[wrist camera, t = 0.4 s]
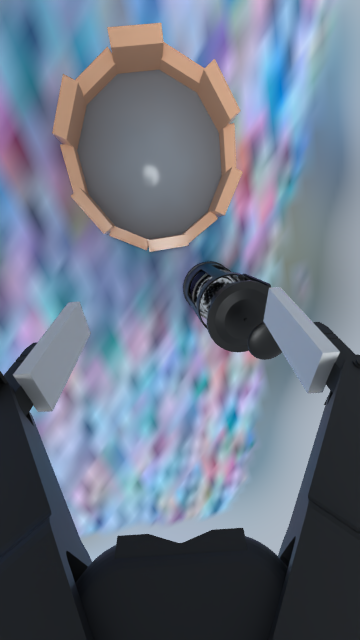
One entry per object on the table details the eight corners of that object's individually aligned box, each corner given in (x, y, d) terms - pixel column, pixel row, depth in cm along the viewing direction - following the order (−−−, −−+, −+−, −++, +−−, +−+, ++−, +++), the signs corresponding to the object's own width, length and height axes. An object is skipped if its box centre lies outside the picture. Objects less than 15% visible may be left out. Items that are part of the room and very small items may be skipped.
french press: (188, 318, 44) (228, 399, 23) (172, 273, 40) (203, 317, 19) (244, 298, 44) (337, 358, 23) (234, 250, 41) (332, 270, 19)
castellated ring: (44, 69, 29) (22, 34, 24) (222, 52, 31) (238, 16, 26) (96, 258, 38) (88, 262, 33) (232, 235, 40) (245, 236, 34)
